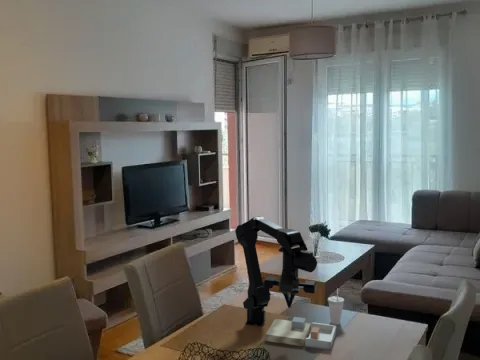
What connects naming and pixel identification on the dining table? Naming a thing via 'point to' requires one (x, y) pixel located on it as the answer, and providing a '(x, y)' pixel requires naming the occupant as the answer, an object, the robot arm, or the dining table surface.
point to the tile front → (315, 333)
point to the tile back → (298, 322)
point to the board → (287, 333)
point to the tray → (322, 337)
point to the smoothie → (335, 308)
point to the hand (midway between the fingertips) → (289, 307)
